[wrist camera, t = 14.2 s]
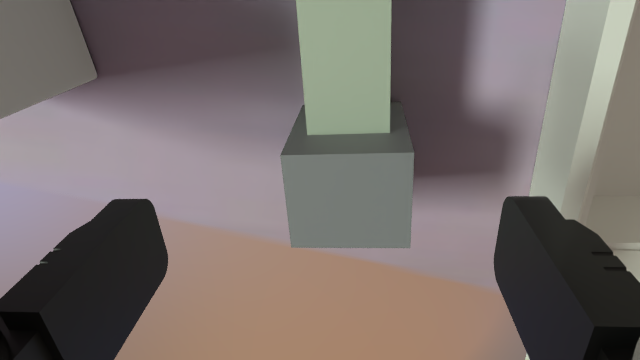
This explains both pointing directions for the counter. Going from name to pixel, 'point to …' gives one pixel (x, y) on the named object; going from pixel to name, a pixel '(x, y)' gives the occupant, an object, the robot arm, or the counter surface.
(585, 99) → the carton
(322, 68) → the box
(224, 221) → the counter surface
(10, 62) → the milk carton
